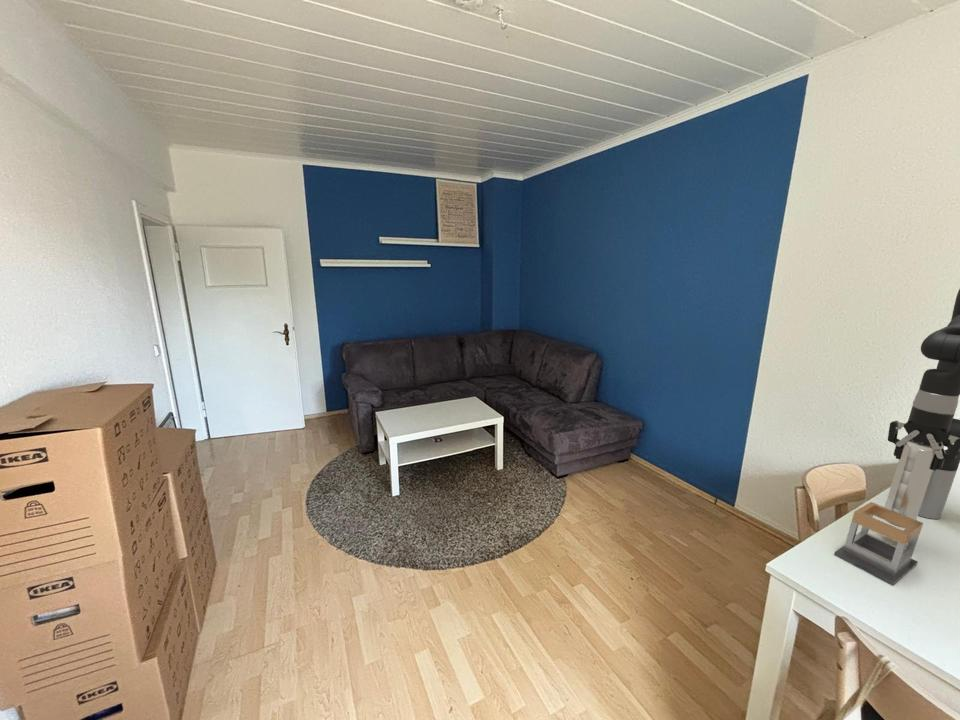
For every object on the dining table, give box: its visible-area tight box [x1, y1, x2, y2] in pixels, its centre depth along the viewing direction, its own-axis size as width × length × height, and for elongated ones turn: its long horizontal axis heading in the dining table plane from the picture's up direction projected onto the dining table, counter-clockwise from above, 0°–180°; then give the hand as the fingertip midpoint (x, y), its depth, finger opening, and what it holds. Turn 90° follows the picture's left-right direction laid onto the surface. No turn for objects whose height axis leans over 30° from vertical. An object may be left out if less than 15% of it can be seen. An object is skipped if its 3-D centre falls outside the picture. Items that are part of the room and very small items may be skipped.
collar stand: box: [833, 501, 924, 586], centre depth 105 cm, size 16×12×14 cm
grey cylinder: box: [884, 440, 937, 529], centre depth 109 cm, size 6×6×25 cm
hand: (915, 463), depth 108 cm, fingers closed on grey cylinder, 6 cm apart
